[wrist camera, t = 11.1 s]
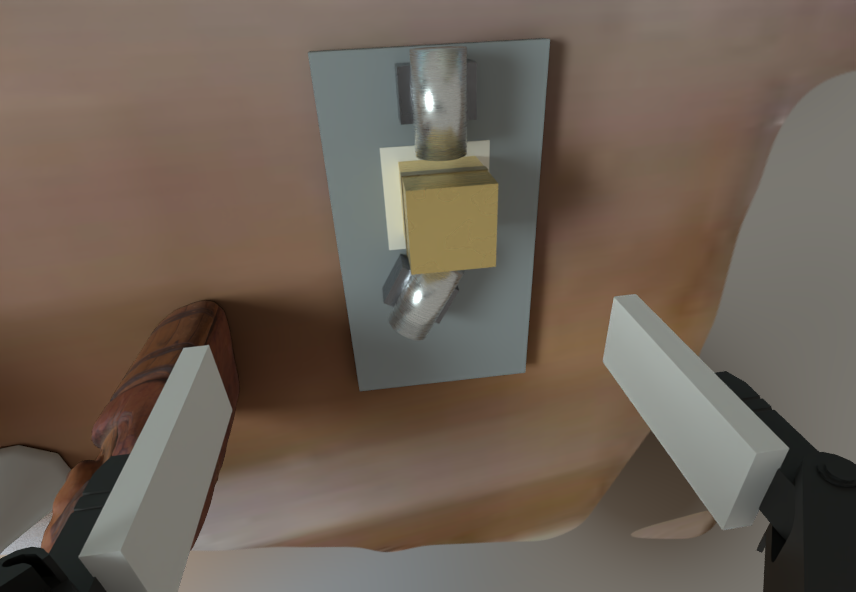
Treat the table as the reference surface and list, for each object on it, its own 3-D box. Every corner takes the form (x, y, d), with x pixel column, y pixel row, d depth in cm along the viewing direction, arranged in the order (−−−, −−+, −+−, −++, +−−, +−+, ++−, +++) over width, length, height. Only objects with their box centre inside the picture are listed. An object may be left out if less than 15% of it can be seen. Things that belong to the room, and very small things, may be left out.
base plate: (309, 51, 28) (307, 52, 27) (543, 38, 29) (550, 38, 28) (359, 381, 41) (359, 392, 39) (521, 363, 42) (525, 373, 41)
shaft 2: (410, 233, 33) (416, 259, 29) (465, 256, 34) (477, 284, 31) (377, 296, 35) (379, 328, 32) (430, 316, 37) (437, 348, 33)
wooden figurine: (140, 293, 34) (-43, 520, 19) (233, 294, 35) (132, 511, 20) (171, 416, 40) (52, 666, 25) (251, 414, 41) (184, 654, 26)
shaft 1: (469, 141, 30) (483, 157, 27) (400, 146, 30) (405, 163, 26) (469, 43, 28) (485, 47, 24) (393, 47, 27) (398, 52, 24)
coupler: (403, 235, 33) (410, 275, 28) (397, 161, 30) (404, 190, 25) (475, 228, 33) (496, 267, 28) (476, 154, 31) (499, 182, 26)
